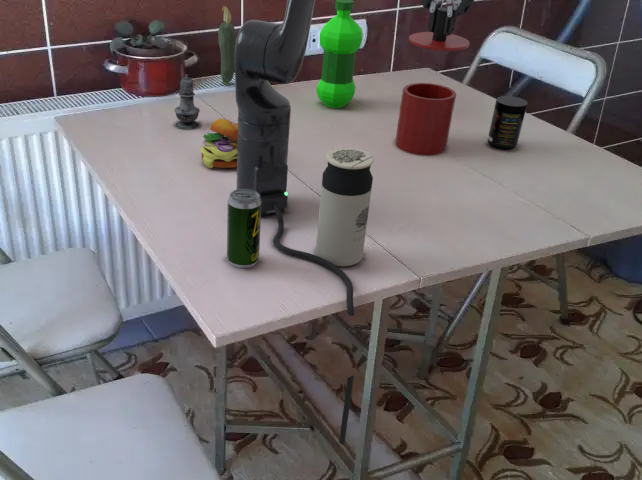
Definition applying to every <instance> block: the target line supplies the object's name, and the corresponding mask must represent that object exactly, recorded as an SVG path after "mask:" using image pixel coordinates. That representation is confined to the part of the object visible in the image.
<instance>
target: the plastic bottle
mask: <svg viewBox="0 0 642 480" xmlns="http://www.w3.org/2000/svg"><path fill="white" fill-rule="evenodd" d="M354 2H355V1H354V0H335V4H334V5H335V6H334V9H335V10H336V15H335V16H333V17H332V18H331V19H329V20H328V21H327V22H326V23H325V24H323V26H322V28H321V31H320V32H319V45H320V47H321V49H323V54H322V67H321V68H322V69H321V77H320V80H319V82H318V84H317V86H316V94H317V97H318V99H319V101H321V102H322V103H323V104H324V106H326V107H327V108H332V109H341V108H344V107H345V106H347V104H349V103H350V102H351V101H353V98H354V96H355V93H356V88H357V87H356V84H355V81H354V78H353V77H354V73H355V72H354V70H355V61H356V52H358V51H359V50H360V48H361V45H362V43H363V37H364V33H363V29H362V27H361V26H360V25H359V24H358V23H357V21H356V20H355V19H354V18H353V17H352V16H351V11H353V9H354V4H355V3H354Z"/></svg>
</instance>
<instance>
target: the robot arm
mask: <svg viewBox="0 0 642 480" xmlns="http://www.w3.org/2000/svg"><path fill="white" fill-rule="evenodd" d="M444 1H445V4H446V8H447V16H448V17H446V19H445V25H444V30H443V35H444V36H449V35H451V34H453V33H454V32H455V30H456V29H455V28H456V23H457V18H458V17H459V16H464V15H466V14H468V11H470V9H471V7H472V5H473V3H474V2H475V0H421V3H422V7H423V8H424V9H427V10H428V11H429V18H428V25H427V26H428V27H427V28H428V32H434V26H435V20H436V14H437V9H438V8H443V4H444ZM315 3H316V0H286V8H285V14H284V18H283V21H282V24H281V23H275V22H271V21H265V20H260V19H259V20H258V19H250V20H247V21H246V22H244V23H243V24H242V26H241V27H240V28H239V30H238V33H237V36H236V38H235V56H234V80H235V81H234V83H235V91H234V92H235V103H236V106H237V109H238V110H237V111H238V112H237V113H238V115H237V123H238V147H237V167H236V190H237V189H251V190H254V191H256V192H258V193H259V194H260V199H261V217H262V216H268V215H273V214H274V215H276V218H277V225H278V226H277V228H278V229H277V232H276V234H275V235H274V237H273V240H272V242H273V245H274V247H275V248H277V250H279V251H280V252H282V253H285V254H287V255H290V256H293V257H298V258H304V259H306V260H310V261H313V262H315V263H318V264H320V265H321V266H324V267H325V268H328V269H329V270H331V271H333V273H335V274H336V275H338V277H339V278H341V280H342V281H343V283H344V284H345V287H346V309H347V310H346V311H347V315H348V316H350V317H353V316H355V309H354V308H355V307H354V285H353V282H352V280H351V279H350V277H349V276H348V275H347V274H346V273H345V272H344V271H343V270H342V269H341V268H339V266H335V265H334V264H332V263H330V262H328V261H326V260H324V259H322V258H320V257H318V256H316V254H313V253H310V252H306V251H303V250H302V251H301V250H297V249H293V248H290V247H287V246H285V245H283V244H282V243H281V242H280V239H281V238H282V236H283V233H284V229H285V226H284V225H285V223H284V216H283V213H284V212H286V209H287V208H288V192H287V189H288V188H287V187H288V169H289V166H288V165H289V164H288V159H289V142H290V126H291V113H292V105H291V103H290V101H289V100H288V98H287V97H286V96H285V95H283V94H281V93H280V92H278V91H277V90H276V89H275V88H274V87H273V86H272V83H277V84H282V85H288V84H291V83H292V82H294V81H295V80H296V78H297V76H298V75H299V73H300V71H301V68H302V66H303V63H304V59H305V55H306V51H307V46H308V41H309V36H310V31H311V25H312V20H313V15H314V10H315V5H316V4H315ZM270 82H272V83H270ZM354 377H355V374H352V375H351V376H348V377H347V379H346V386H345V387H346V388H345V396H344V403H343V410H342V415H341V416H342V418H341V424H340V430H339V431H340V432H339V439H338V443H339V444H340V445H344V444H345V443H346V437H347V429H348V423H349V421H348V420H349V414H350V410H351V409H350V407H351V401H352V395H353V387H354V379H355V378H354Z"/></svg>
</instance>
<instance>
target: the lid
mask: <svg viewBox="0 0 642 480" xmlns="http://www.w3.org/2000/svg"><path fill="white" fill-rule="evenodd" d="M446 17H448V16H447V7H442V8H438V9H437V14H436V20H435V26H434V32H430V31H421V32H415V33H412V34H409V36H408V42H409V43H410V44H412V45H413V46H415V47H418V48H422V49H426V50H431V51H437V52H456V51H462V50H466V49H468V48H469V46H470V40H468V39H467V38H465V37H463V36H460V35H457V34H453V33H452V34H451V35H449V36H444V35H443V30H444V25H445V19H446Z"/></svg>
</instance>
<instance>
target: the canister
mask: <svg viewBox="0 0 642 480" xmlns="http://www.w3.org/2000/svg"><path fill="white" fill-rule="evenodd" d="M456 99H457V92H456V91H455V90H454V89H452V88H451V87H448V86H445V85H442V84H437V83H431V82H416V83H410V84H407V85H405V86H404V87H403V88H402V94H401V101H400V107H399V114H398V121H397V126H396V127H397V128H396V134H395V146H396V147H397V149H399V150H401V151H403V152H406V153H409V154H412V155H417V156H436V155H439V154H443V153H444V152H445V151H446V150H447V149H446V148H447V146H448V140H449V136H450V129H451V124H452V119H453V113H454V110H455V104H456V103H455V102H456Z"/></svg>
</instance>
